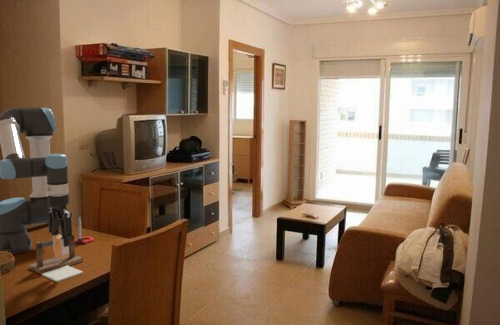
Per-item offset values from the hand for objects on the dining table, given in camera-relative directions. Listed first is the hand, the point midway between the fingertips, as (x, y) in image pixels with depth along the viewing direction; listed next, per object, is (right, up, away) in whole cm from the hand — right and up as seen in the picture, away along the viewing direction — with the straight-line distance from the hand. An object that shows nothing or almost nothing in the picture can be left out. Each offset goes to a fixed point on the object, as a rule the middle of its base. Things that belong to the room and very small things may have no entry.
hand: (61, 252), depth 169 cm
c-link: (0, -2, 0) cm, 2 cm away
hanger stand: (-7, -7, +11) cm, 15 cm away
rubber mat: (0, -9, +1) cm, 9 cm away
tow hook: (-7, -3, +42) cm, 43 cm away
